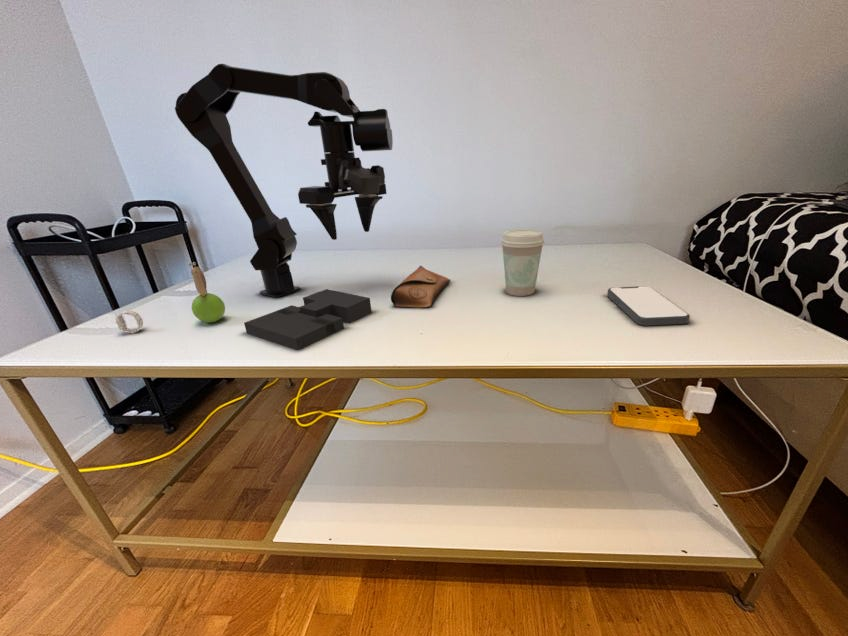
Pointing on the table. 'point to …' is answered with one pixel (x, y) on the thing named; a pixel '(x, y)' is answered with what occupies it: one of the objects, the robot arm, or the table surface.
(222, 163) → the robot arm
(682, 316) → the phone case
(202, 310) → the green ball with stick
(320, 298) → the pad
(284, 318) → the notched pad
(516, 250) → the coffee cup
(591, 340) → the table surface
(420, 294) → the sunglasses case
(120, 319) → the beige textured ring
